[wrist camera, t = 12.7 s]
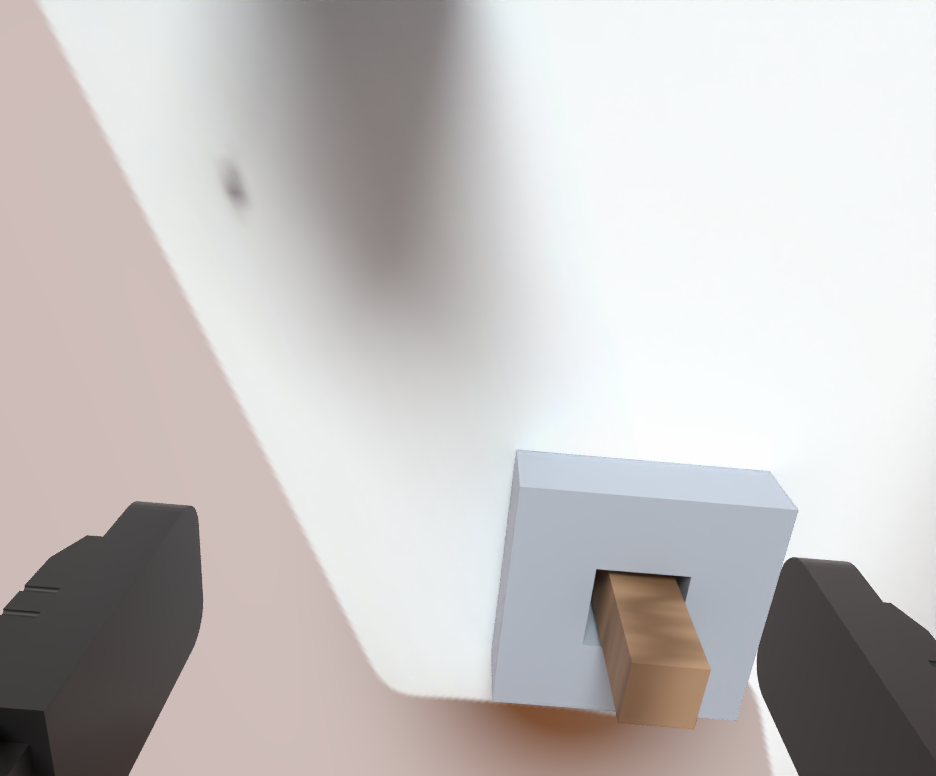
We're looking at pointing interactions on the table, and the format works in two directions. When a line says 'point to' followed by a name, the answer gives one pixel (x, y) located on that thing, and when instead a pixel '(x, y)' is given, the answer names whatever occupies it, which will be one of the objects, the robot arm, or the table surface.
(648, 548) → the socket block
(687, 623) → the walnut peg
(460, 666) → the table surface
